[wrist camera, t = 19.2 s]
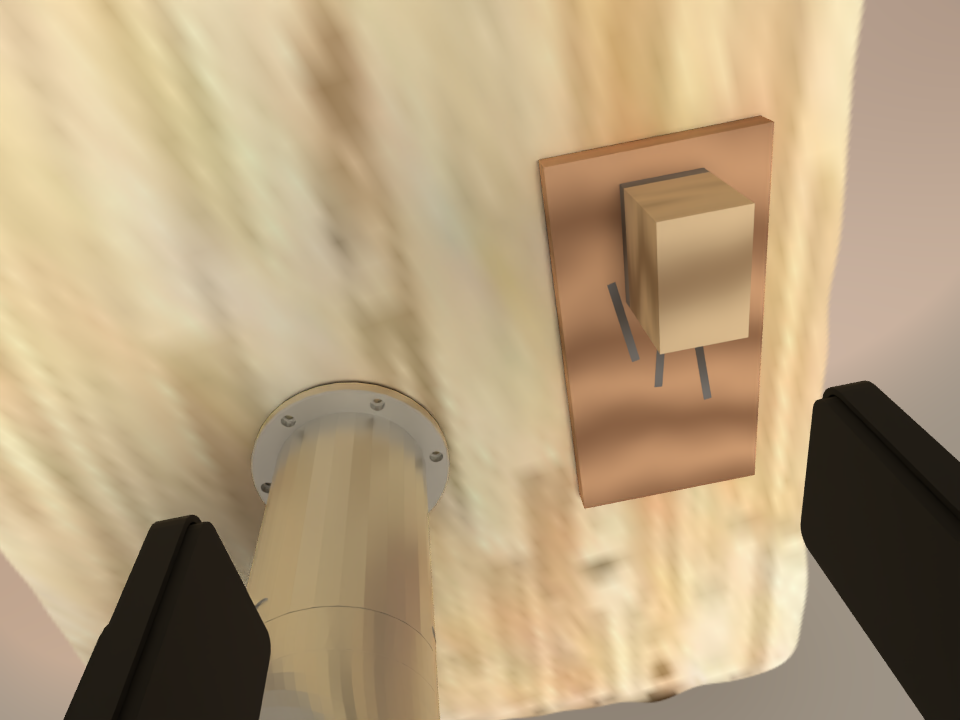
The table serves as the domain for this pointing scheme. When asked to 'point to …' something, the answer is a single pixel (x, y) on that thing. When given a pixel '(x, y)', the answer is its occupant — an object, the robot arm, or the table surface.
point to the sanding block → (687, 258)
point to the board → (624, 343)
